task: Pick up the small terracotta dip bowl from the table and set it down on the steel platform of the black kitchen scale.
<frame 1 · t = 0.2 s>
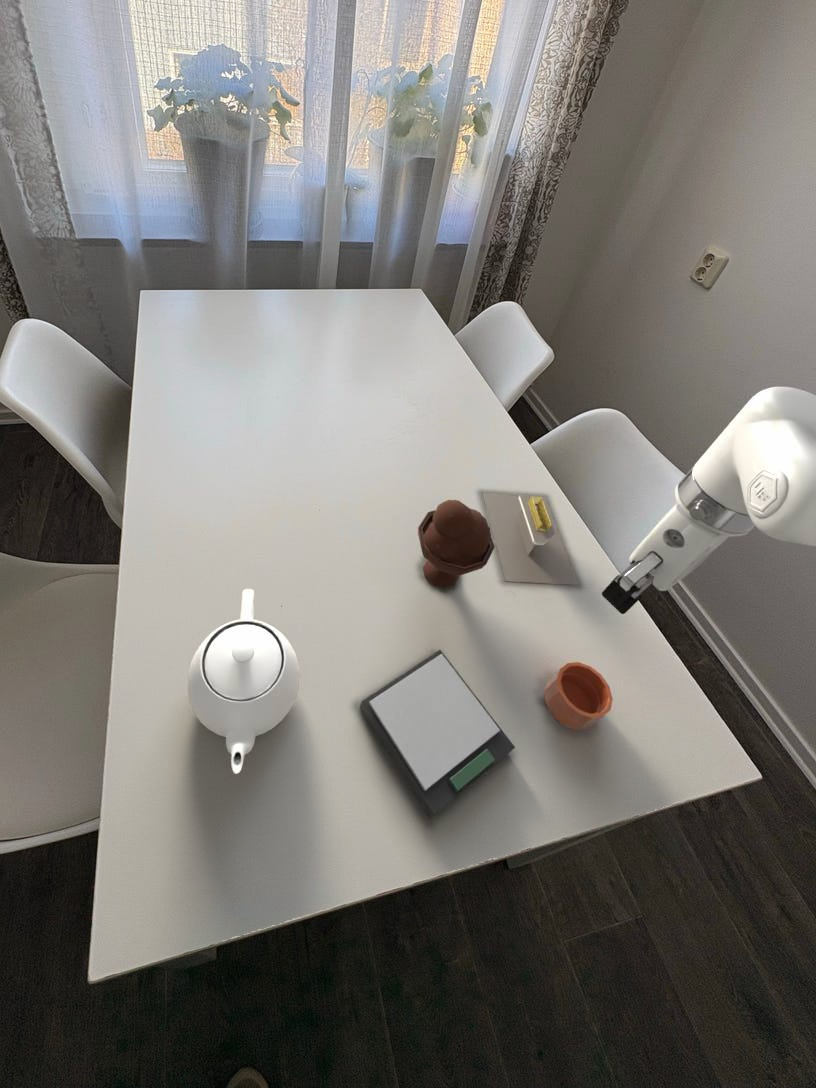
hand: (636, 585, 66), 16 cm above the table, tool pointing down, fingers open, 9 cm apart
teapot: (244, 693, 67), on the table
ice cream bowl: (440, 572, 83), on the table
scale: (433, 730, 66), on the table
platform: (526, 536, 90), on the table
dip bowl: (568, 703, 70), on the table
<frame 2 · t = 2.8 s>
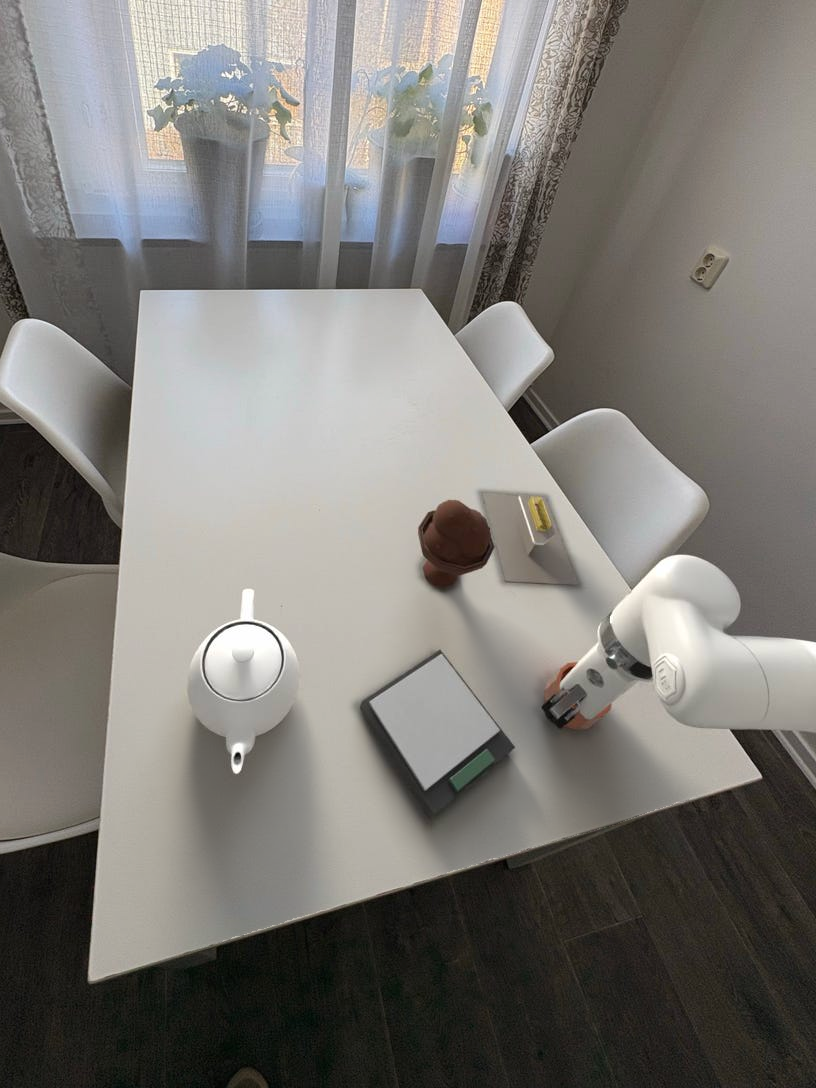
hand: (570, 701, 70), 1 cm above the table, tool pointing down, fingers closed on dip bowl, 7 cm apart
dip bowl: (568, 703, 70), on the table, touching gripper
everything else where it was.
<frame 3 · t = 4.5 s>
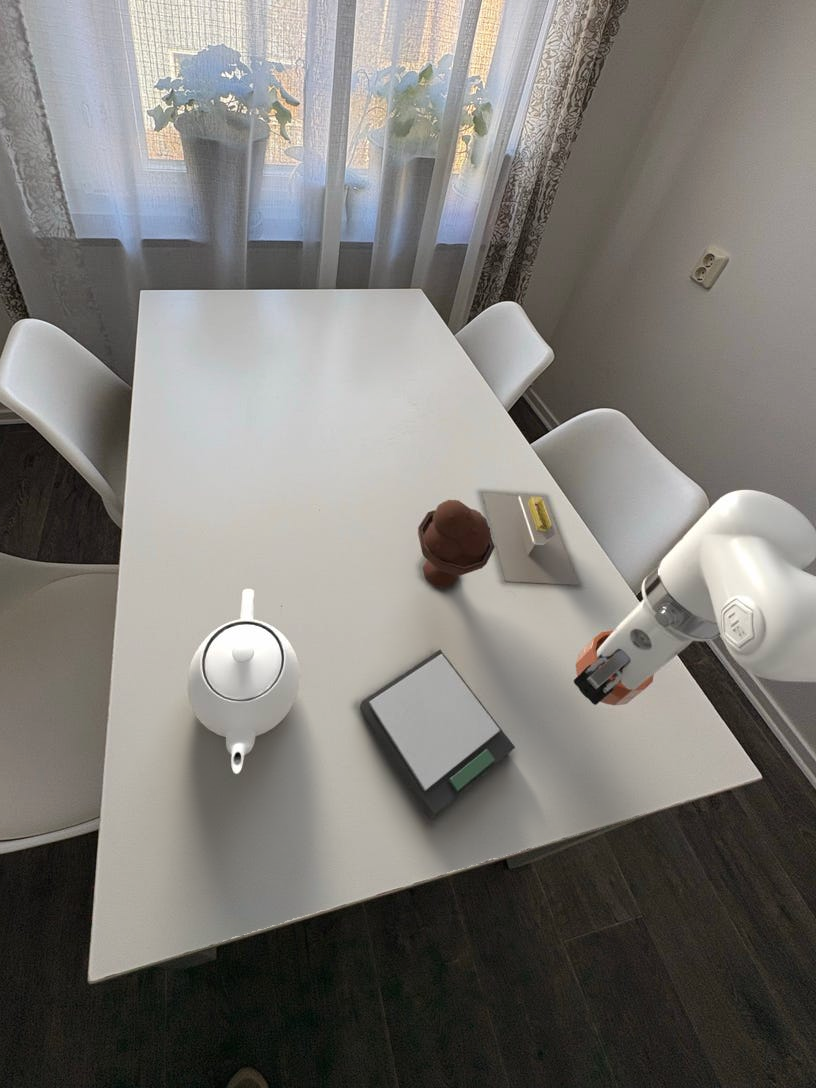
hand: (605, 674, 63), 11 cm above the table, tool pointing down, fingers closed on dip bowl, 7 cm apart
dip bowl: (602, 677, 63), point 10 cm above the table, touching gripper
everything else where it was.
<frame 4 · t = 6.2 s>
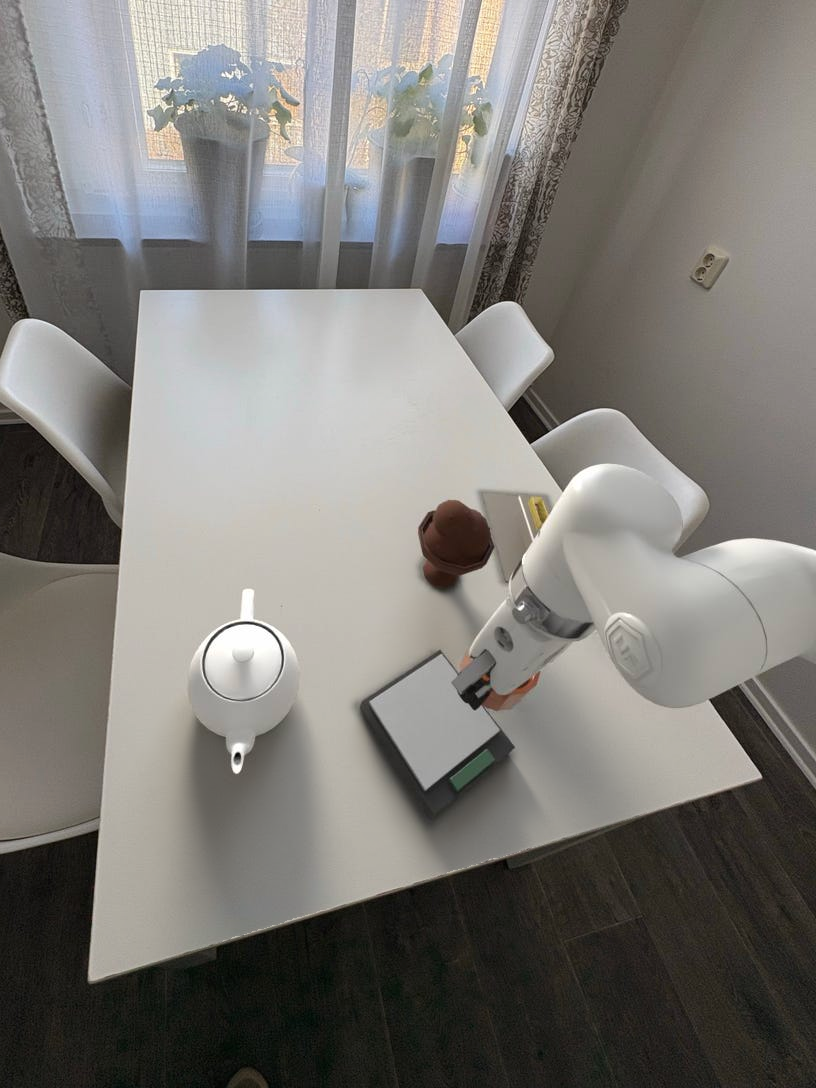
hand: (493, 676, 56), 16 cm above the table, tool pointing down, fingers closed on dip bowl, 7 cm apart
dip bowl: (490, 679, 57), point 15 cm above the table, touching gripper
everything else where it was.
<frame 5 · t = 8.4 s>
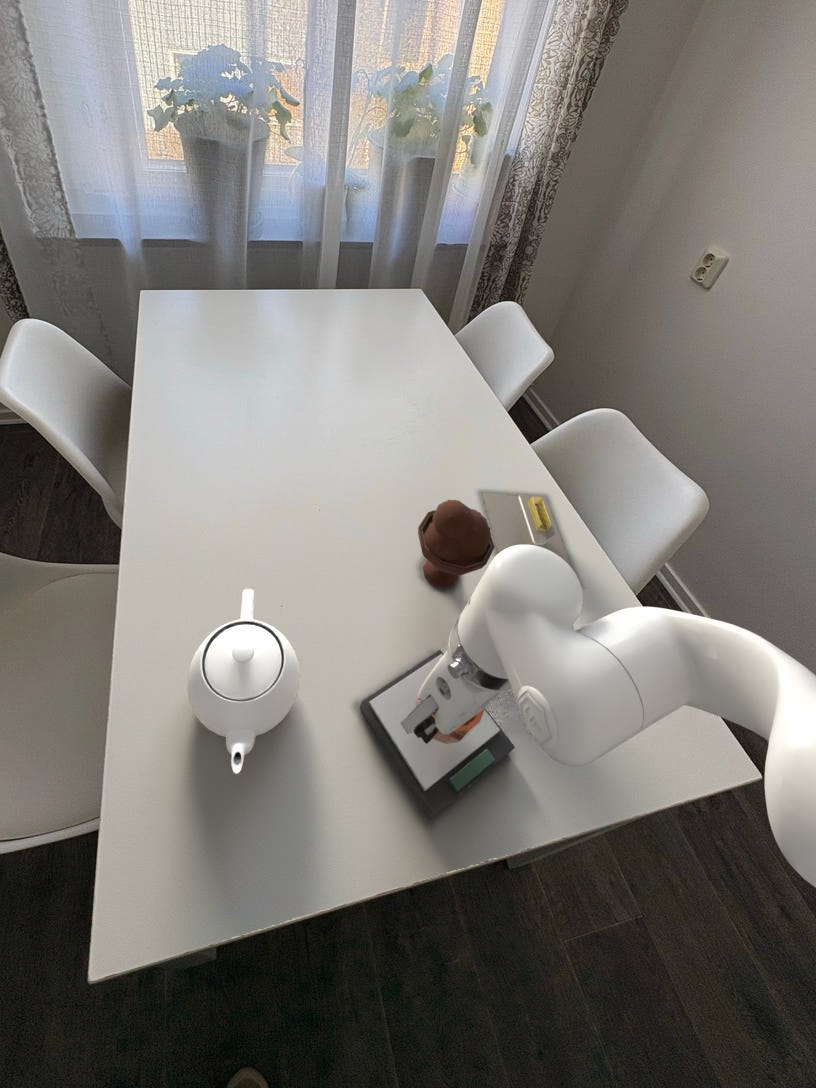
hand: (444, 711, 62), 6 cm above the table, tool pointing down, fingers closed on dip bowl, 7 cm apart
dip bowl: (442, 713, 63), point 5 cm above the table, touching gripper
everything else where it was.
when the fingers open (4 cm above the table, at t = 9.7 s): dip bowl stays where it is, resting on scale.
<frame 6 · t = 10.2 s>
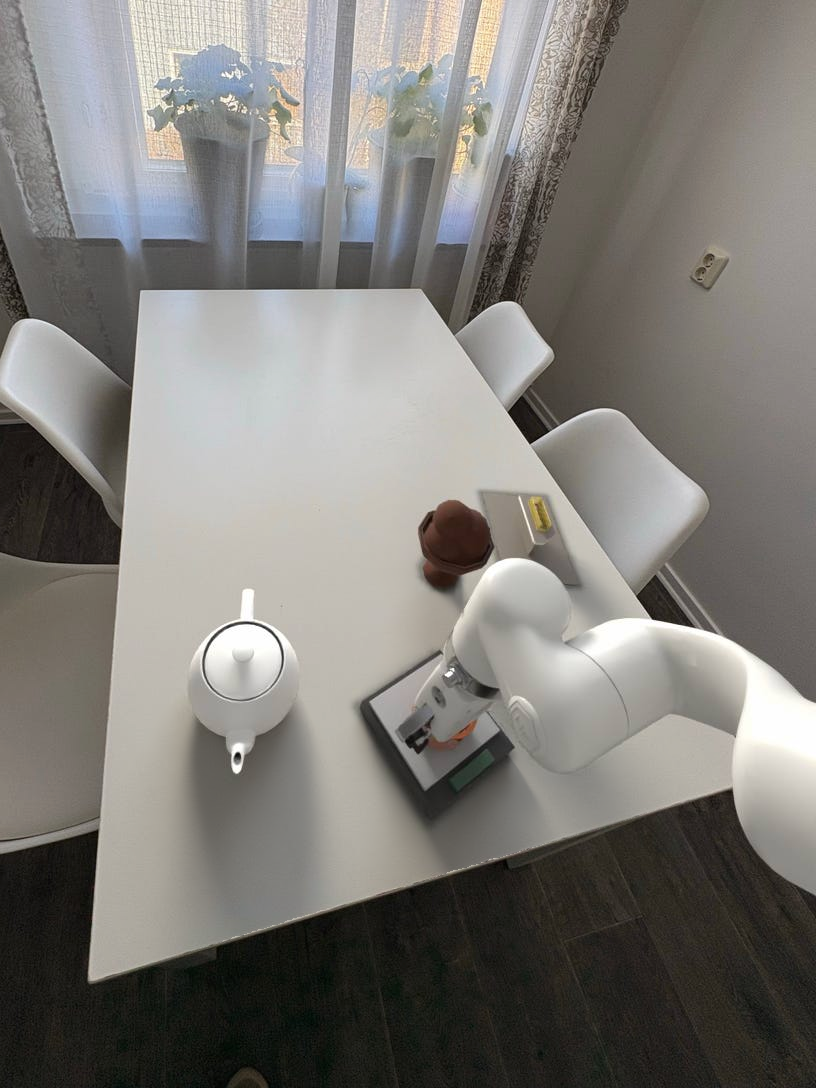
hand: (442, 717, 63), 5 cm above the table, tool pointing down, fingers open, 9 cm apart
dip bowl: (438, 721, 64), point 3 cm above the table, touching scale
everything else where it was.
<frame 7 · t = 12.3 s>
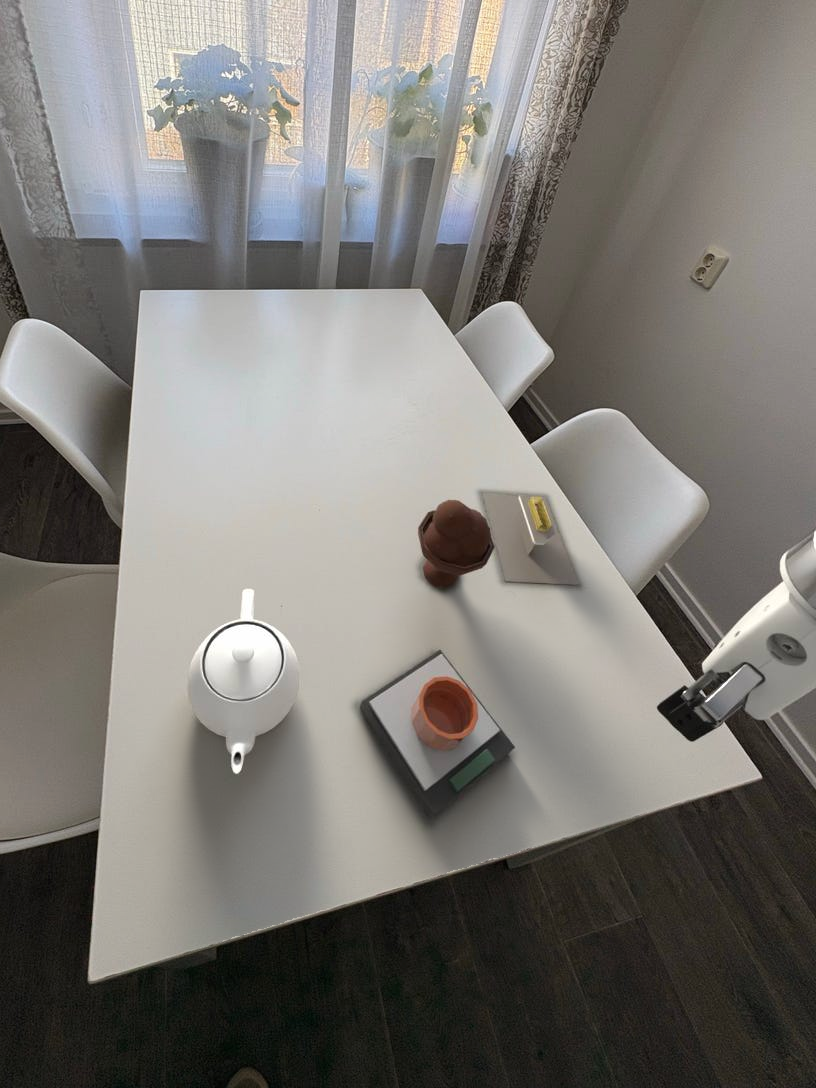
hand: (703, 690, 46), 27 cm above the table, tool pointing down, fingers open, 9 cm apart
nothing on the table moved.
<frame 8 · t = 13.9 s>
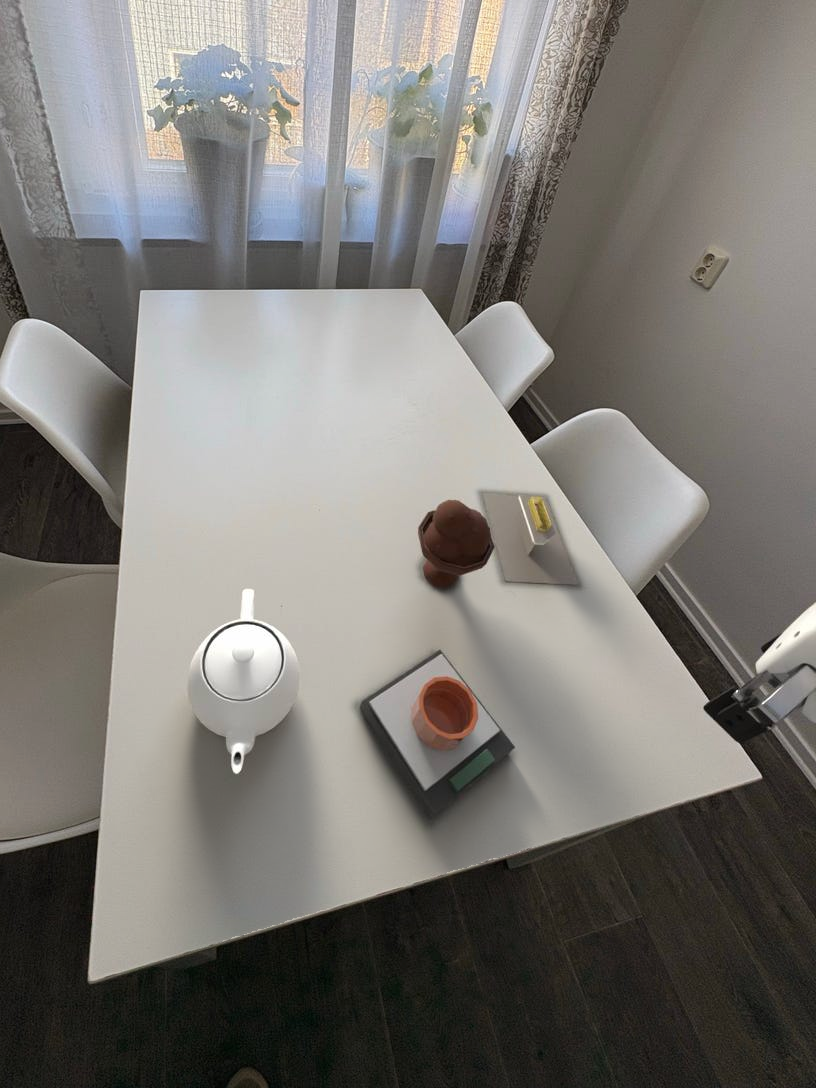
hand: (751, 691, 44), 28 cm above the table, tool pointing down, fingers open, 9 cm apart
nothing on the table moved.
at the end: dip bowl inside the target area on the scale (0.1 cm from its centre), point 3.0 cm above the scale's base; dip bowl tilted 0°; the gripper is holding nothing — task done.
